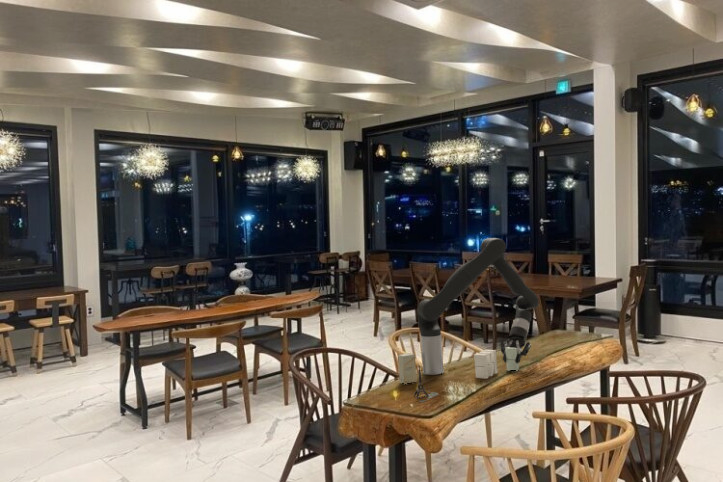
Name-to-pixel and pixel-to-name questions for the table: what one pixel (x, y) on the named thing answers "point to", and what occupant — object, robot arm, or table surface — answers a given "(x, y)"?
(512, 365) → the sage domino
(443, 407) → the table surface
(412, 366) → the skincare box
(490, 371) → the ivory domino
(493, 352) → the ivory domino
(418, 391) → the eiffel tower figurine
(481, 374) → the ivory domino
